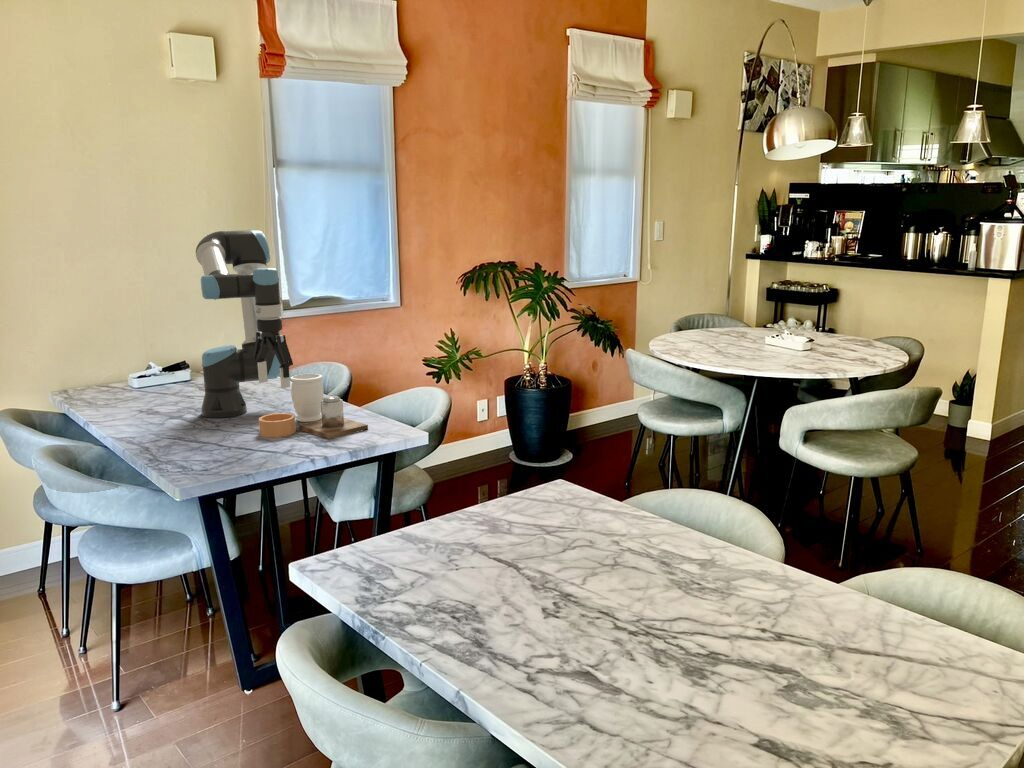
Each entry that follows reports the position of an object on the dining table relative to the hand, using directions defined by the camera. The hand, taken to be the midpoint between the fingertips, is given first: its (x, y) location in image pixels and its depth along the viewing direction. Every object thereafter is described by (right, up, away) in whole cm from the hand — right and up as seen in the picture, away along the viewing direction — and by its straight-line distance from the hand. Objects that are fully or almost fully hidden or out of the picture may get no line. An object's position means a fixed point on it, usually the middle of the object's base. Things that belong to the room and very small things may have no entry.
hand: (274, 384), depth 261 cm
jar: (+6, -12, +19) cm, 24 cm away
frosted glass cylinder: (+17, -13, +6) cm, 22 cm away
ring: (0, -15, +3) cm, 16 cm away
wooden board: (+17, -14, +6) cm, 23 cm away
